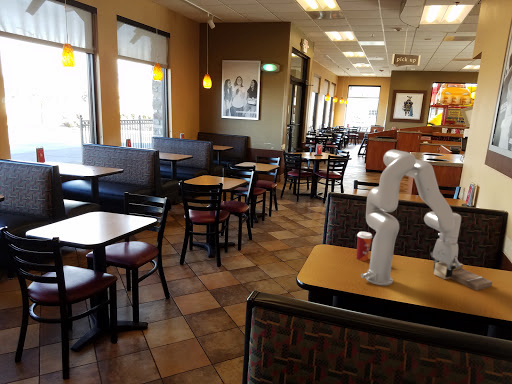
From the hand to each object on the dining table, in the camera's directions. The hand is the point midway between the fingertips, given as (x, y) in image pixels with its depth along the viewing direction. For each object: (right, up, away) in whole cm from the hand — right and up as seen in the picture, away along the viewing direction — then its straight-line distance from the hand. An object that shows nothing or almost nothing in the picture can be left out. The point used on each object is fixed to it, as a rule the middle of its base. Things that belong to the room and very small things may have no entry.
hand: (442, 273), depth 178 cm
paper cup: (-34, +4, +17) cm, 38 cm away
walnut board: (+10, -2, -1) cm, 10 cm away
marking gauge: (+5, -1, +3) cm, 6 cm away
